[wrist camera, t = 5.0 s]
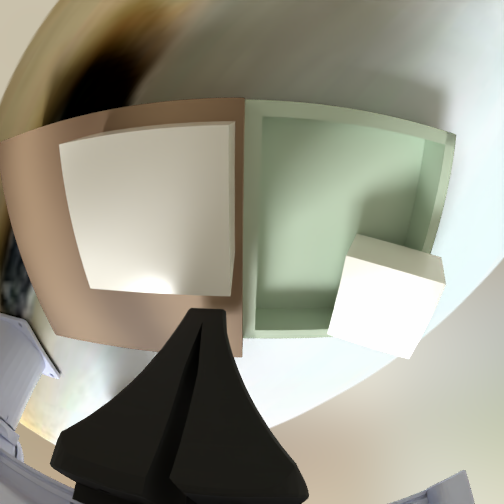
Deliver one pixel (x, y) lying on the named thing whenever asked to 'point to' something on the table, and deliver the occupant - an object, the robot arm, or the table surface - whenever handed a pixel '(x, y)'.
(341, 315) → the tile
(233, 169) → the tile
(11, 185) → the board
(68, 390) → the table surface
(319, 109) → the tray
